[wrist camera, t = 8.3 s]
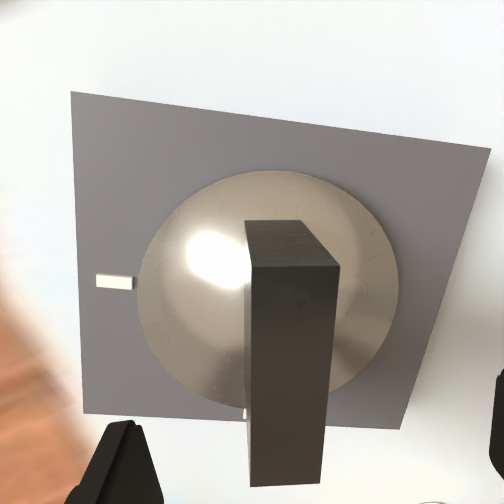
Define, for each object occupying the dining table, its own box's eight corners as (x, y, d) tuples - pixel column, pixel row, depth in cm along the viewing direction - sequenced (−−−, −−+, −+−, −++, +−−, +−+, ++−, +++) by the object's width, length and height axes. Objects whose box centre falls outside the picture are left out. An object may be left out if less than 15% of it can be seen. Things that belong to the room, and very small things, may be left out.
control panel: (449, 147, 18) (494, 148, 15) (378, 393, 23) (401, 432, 20) (99, 99, 16) (68, 90, 13) (103, 376, 21) (82, 416, 18)
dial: (129, 169, 14) (50, 191, 8) (406, 169, 15) (530, 190, 9) (153, 399, 18) (113, 535, 12) (373, 392, 19) (443, 516, 12)
